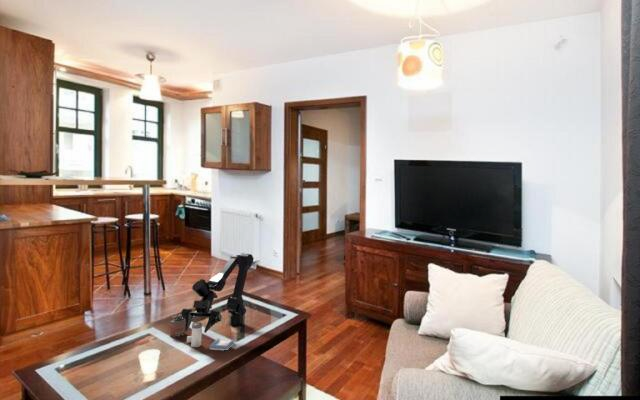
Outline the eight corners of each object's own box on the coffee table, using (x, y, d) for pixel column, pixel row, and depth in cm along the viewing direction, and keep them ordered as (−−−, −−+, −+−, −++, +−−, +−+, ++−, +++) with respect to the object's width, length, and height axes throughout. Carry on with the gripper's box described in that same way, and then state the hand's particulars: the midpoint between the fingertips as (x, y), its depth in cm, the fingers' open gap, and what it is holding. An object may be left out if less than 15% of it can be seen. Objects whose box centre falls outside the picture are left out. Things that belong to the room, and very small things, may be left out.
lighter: (184, 332, 181) (185, 312, 181) (187, 334, 178) (188, 314, 178) (168, 336, 175) (169, 315, 175) (171, 338, 173) (172, 317, 173)
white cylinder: (199, 342, 168) (200, 321, 168) (202, 346, 164) (202, 324, 164) (190, 344, 165) (191, 323, 166) (192, 347, 162) (193, 325, 162)
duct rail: (199, 339, 172) (199, 334, 172) (200, 340, 170) (200, 335, 170) (186, 341, 168) (186, 336, 168) (187, 342, 167) (187, 337, 167)
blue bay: (217, 341, 170) (217, 338, 170) (234, 343, 169) (234, 339, 169) (209, 349, 161) (209, 345, 161) (227, 350, 160) (227, 346, 160)
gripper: (183, 291, 170) (170, 321, 159) (220, 294, 168) (209, 324, 157) (190, 303, 178) (178, 333, 167) (226, 306, 176) (216, 336, 165)
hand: (195, 331), depth 164 cm, fingers open, 9 cm apart
